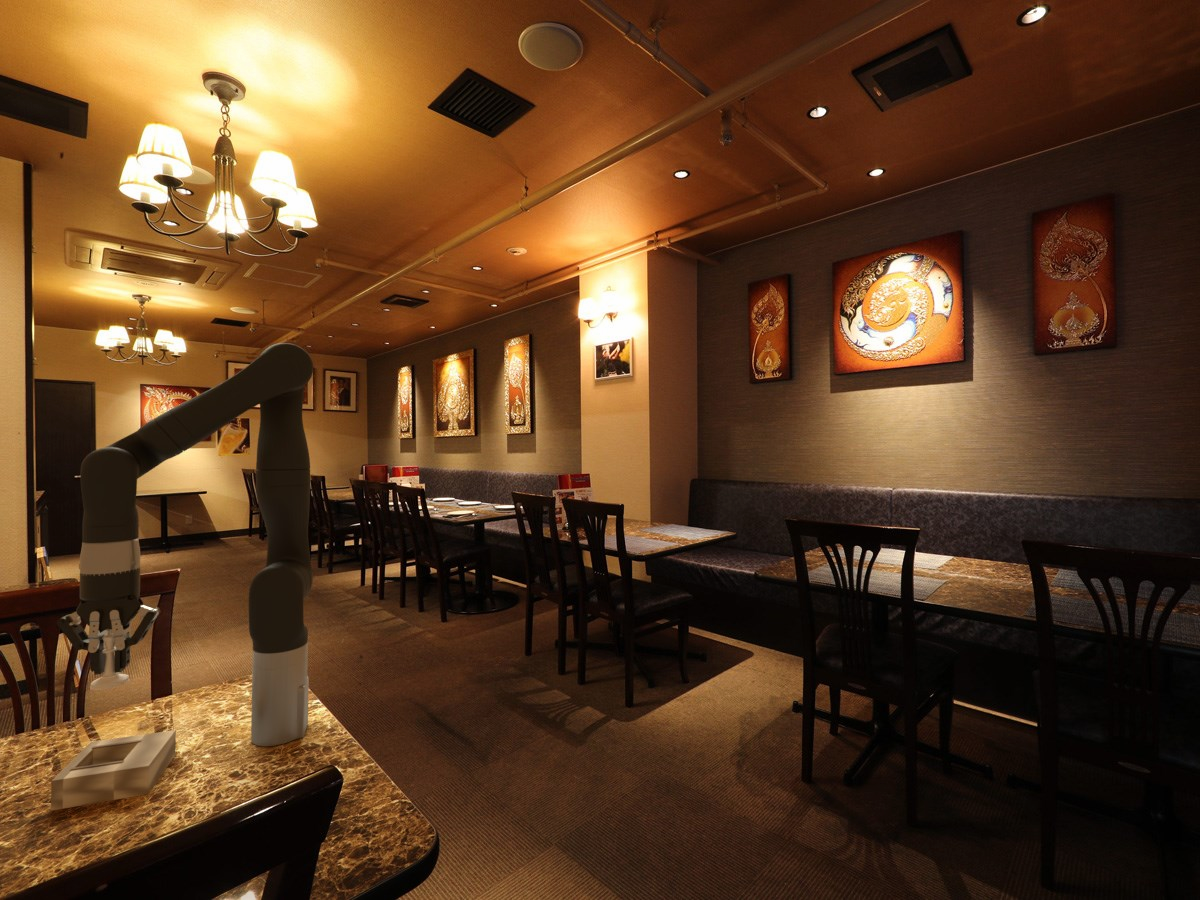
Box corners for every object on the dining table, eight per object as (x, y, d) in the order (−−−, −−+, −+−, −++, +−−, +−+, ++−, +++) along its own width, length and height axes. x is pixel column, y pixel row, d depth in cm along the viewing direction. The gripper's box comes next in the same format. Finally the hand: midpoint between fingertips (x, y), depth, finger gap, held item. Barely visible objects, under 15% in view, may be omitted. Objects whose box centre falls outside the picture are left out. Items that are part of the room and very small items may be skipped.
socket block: (175, 755, 99) (175, 729, 99) (148, 794, 88) (148, 764, 88) (90, 767, 95) (91, 740, 95) (50, 810, 83) (51, 779, 83)
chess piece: (105, 691, 89) (105, 629, 89) (81, 688, 90) (82, 627, 90) (137, 679, 93) (137, 620, 93) (114, 676, 95) (115, 618, 95)
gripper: (170, 560, 98) (169, 658, 97) (70, 565, 93) (70, 668, 93) (152, 569, 90) (151, 675, 90) (43, 575, 86) (42, 686, 86)
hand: (110, 671), depth 92 cm, fingers closed on chess piece
